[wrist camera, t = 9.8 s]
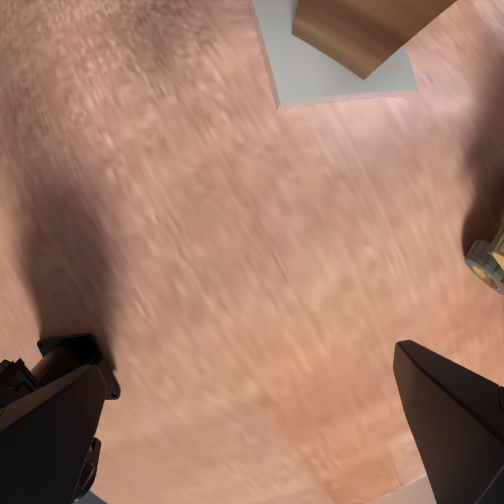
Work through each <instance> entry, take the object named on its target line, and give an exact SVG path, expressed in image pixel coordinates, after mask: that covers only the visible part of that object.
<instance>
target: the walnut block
mask: <svg viewBox="0 0 504 504" xmlns="http://www.w3.org/2000/svg"><path fill="white" fill-rule="evenodd" d="M456 1H457V0H298V4H297V9H296V14H295V19H294V24H293V29H292V35H294V36H295V37H297V38H299V39H301V40H302V41H304V42H306V43H307V44H309V45H311V46H312V47H314V48H316V49H317V50H319V51H321V52H322V53H324V54H325V55H327V56H329V57H330V58H332V59H333V60H335V61H336V62H338V63H339V64H341V65H342V66H344V67H345V68H347V69H348V70H350V71H351V72H352V73H354V74H355V75H357V76H358V77H359V78H361V79H362V80H365V79H366V78H367V77H368V76H369V75H370V74H371V73H372V72H373V71H375V70H376V69H377V68H378V67H379V66H380V65H381V64H382V63H384V62H385V61H386V60H387V59H388V58H389V57H390V56H391V55H393V54H394V53H395V52H396V51H397V50H398V49H399V48H401V47H402V46H403V45H404V44H405V43H406V42H408V41H409V40H410V39H411V38H412V37H413V36H415V35H416V34H417V33H418V32H419V31H420V30H422V29H423V28H424V27H425V26H426V25H428V24H429V23H430V22H431V21H432V20H434V19H435V18H436V17H437V16H438V15H440V14H441V13H442V12H443V11H445V10H446V9H447V8H448V7H450V6H451V5H452V4H453V3H454V2H456Z"/></svg>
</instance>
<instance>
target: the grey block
mask: <svg viewBox="0 0 504 504" xmlns="http://www.w3.org/2000/svg"><path fill="white" fill-rule="evenodd" d="M247 2H248V5H249V9H250V12H251V16H252V19H253V23H254V26H255V30H256V33H257V37H258V41H259V44H260V48H261V52H262V55H263V59H264V63H265V67H266V71H267V74H268V78H269V82H270V86H271V90H272V94H273V98H274V102H275V107H276V111H282V110H288V109H294V108H301V107H307V106H314V105H321V104H329V103H337V102H345V101H355V100H365V99H377V98H391V97H403V96H405V95H407V94H410V93H412V92H414V91H417V90H418V88H417V84H416V81H415V77H414V74H413V70H412V67H411V64H410V60H409V57H408V54H407V51H406V48H405V45H403V46H402V47H401V48H399V49H398V50H397V51H396V52H395V53H394V54H393V55H391V56H390V57H389V58H388V59H387V60H386V61H385V62H384V63H382V64H381V65H380V66H379V67H378V68H377V69H376V70H375V71H373V72H372V73H371V74H370V75H369V76H368V77H367V78H366V79H365V80H362V79H361V78H359V77H358V76H357V75H355V74H354V73H352V72H351V71H350V70H348V69H347V68H345V67H344V66H342V65H341V64H339V63H338V62H336V61H335V60H333V59H332V58H330V57H329V56H327V55H325V54H324V53H322V52H321V51H319V50H317V49H316V48H314V47H312V46H311V45H309V44H307V43H306V42H304V41H302V40H301V39H299V38H297V37H295V36H294V35H292V29H293V24H294V19H295V14H296V9H297V4H298V0H247Z"/></svg>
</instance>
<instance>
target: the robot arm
mask: <svg viewBox="0 0 504 504" xmlns="http://www.w3.org/2000/svg"><path fill="white" fill-rule="evenodd" d="M87 339H89V340H90V341H88V340H87ZM37 346H38V348H39V350H40V352H41V354H42V356H43V358H42V359H41V360H40V361H39V363H38V364H37V365H36V366H35V367H34V368H33V369H32V370H31V371H29V370H28V368H27V367H26V366H25V365H24V364H25V363H24V362H23V361H22V359H21V358H19V359H18V360H17V361H16V362H15V363H14V362H13V361H12V362H10V361H8V360H6V359H4V360H3V361H2V362H1V363H0V504H72V503H73V502H76V501H77V500H79V499H81V498H82V497H83V496H84V495H85V494H86V493H87V492H88V490H89V489H90V488H91V486H92V484H93V482H94V480H95V477H96V472H97V465H98V459H99V454H100V448H101V441H100V440H98V439H97V438H95V437H94V435H95V433H96V430H97V426H98V423H99V419H100V415H101V411H102V408H103V404H104V401H105V400H115V399H118V398H119V397H120V391H119V389H118V387H117V385H116V383H115V381H114V379H113V377H112V375H111V373H110V371H109V369H108V367H107V364H106V362H105V360H104V358H103V357H102V354H101V352H100V350H99V348H98V346H97V343H96V341H95V339H94V337H93V336H92V335H91V334H88V333H87V334H79V335H70V336H62V337H53V338H44V339H40V340H39V341H38V342H37ZM393 371H394V376H395V379H396V383H397V386H398V390H399V394H400V397H401V401H402V405H403V409H404V413H405V416H406V419H407V422H408V424H409V427H410V429H411V432H412V434H413V437H414V440H415V442H416V445H417V448H418V450H419V453H420V456H421V459H422V461H423V464H424V467H425V470H426V473H427V476H428V479H429V481H430V484H431V487H432V490H433V493H434V496H435V500H436V503H437V504H504V387H502V386H499V385H498V384H496V383H494V382H492V381H490V380H488V379H486V378H484V377H482V376H480V375H478V374H476V373H474V372H472V371H471V370H469V369H467V368H465V367H463V366H461V365H459V364H457V363H455V362H453V361H451V360H449V359H447V358H445V357H443V356H441V355H439V354H437V353H435V352H433V351H431V350H429V349H427V348H426V347H424V346H422V345H420V344H418V343H416V342H414V341H412V340H404V341H399V342H397V343H396V345H395V352H394V361H393ZM114 393H115V394H116V395H115V394H114Z"/></svg>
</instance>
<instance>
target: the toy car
mask: <svg viewBox="0 0 504 504" xmlns="http://www.w3.org/2000/svg"><path fill="white" fill-rule="evenodd" d="M465 262H466V264H467V265H468V266H469V268H470V269H471V270H472V271H473V272H474V273H475V274H476V275H477V276H478V277H479V278H480V279H481V280H482V281H483V282H485V283H486V284H487V285H488V286H490V287H491V288H492V289H494V290H495V291H497V292H499V293H500V294H503V295H504V221H503V223H502V225H501V227H500V229H499V230H498V232H497V234H496V236H495V238H494V239H493V241H492V243H489V242H487V241H484V240H477V241H475V242H474V243H473V244H472V246H471V248H470V249H469V251H468V253H467V254H466V258H465Z"/></svg>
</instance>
